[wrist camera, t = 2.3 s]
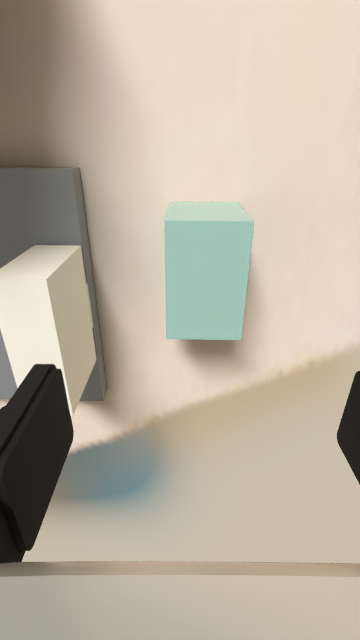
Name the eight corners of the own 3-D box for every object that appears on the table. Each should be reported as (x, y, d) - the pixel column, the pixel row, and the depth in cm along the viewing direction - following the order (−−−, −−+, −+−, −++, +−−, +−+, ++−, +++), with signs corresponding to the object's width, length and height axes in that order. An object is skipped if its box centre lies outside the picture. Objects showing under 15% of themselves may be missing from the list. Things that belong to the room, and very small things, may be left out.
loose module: (238, 202, 22) (254, 221, 17) (229, 301, 25) (240, 343, 20) (170, 201, 22) (164, 220, 17) (171, 300, 25) (166, 342, 20)
